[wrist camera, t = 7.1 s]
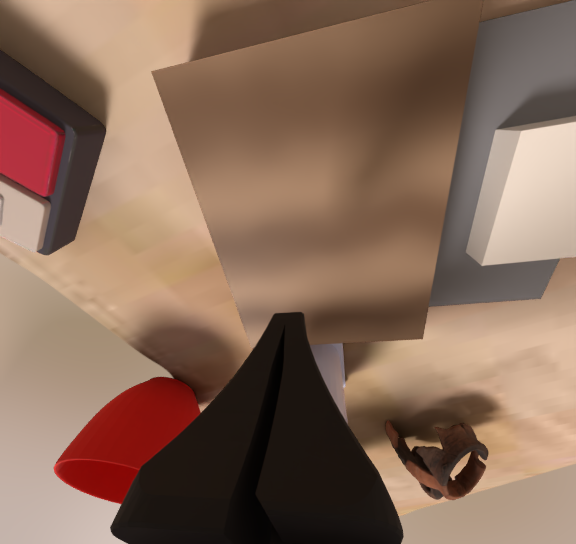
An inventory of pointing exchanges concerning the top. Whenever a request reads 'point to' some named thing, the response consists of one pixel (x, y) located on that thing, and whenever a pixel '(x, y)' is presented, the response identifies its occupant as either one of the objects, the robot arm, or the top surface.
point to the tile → (527, 195)
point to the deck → (330, 166)
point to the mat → (479, 136)
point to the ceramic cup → (126, 437)
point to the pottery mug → (443, 461)
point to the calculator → (43, 160)
